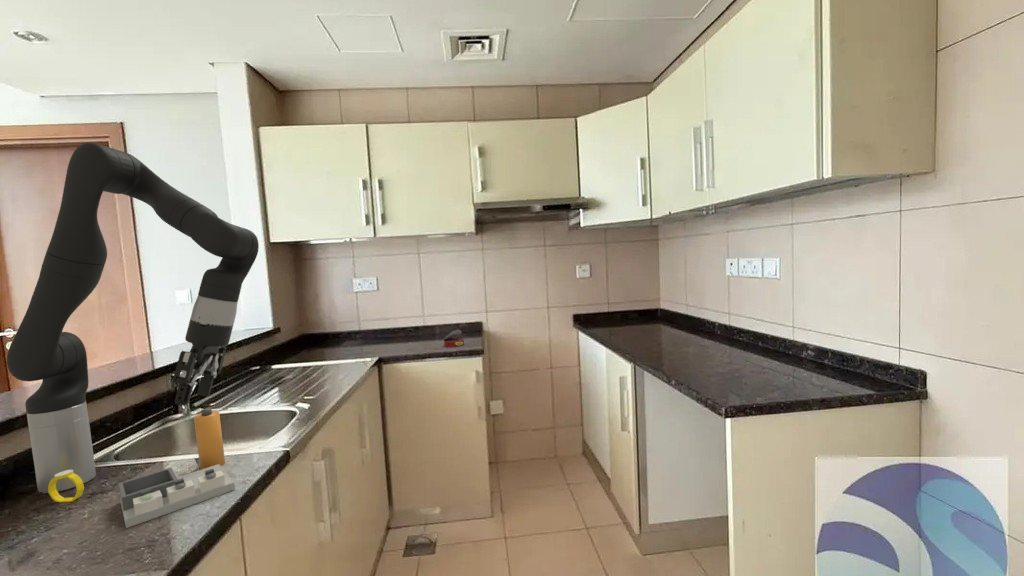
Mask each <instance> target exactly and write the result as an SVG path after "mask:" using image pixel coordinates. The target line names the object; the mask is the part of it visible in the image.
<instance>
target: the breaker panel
mask: <svg viewBox="0 0 1024 576" xmlns="http://www.w3.org/2000/svg"><path fill="white" fill-rule="evenodd" d="M118 489H119V490H118V491H119V495H118V496H119V501H120V502H119V503H120V506H121V511H122V516H123V520H124V521H123V522H124V525H125V528H126V529H128V528H131V527H134V526H137V525H139V524H141V523H145V522H147V521H151V520H154V519H156V518H159V517H162V516H164V515H167V514H170V513H174V512H177V511H178V510H182V509H184V508H187V507H190V506H193V505H196V504H198V503H200V502H201V503H202V502H204V501H207V500H210V499H212V498H216V497H218V496H220V495H223V494H227V493H229V492H231V490H232V491H234V490H233V489H235V490H236V487H235V481H234V480H233V478H231V477H230V476H229V474H228V473H227V472H226V470H225V469H224V468H223V467H222V466H220V464H217V465H214V466H211V467H208V468H205V469H202V470H200V469H198V470H196V471H193V472H190V473H187V474H186V473H185V474H182V475H179V476H176V474H175V472H174V471H173V468H172V467H168V468H165V469H162V470H158V471H156V472H155V471H154V472H152V473H148V474H145V475H142V476H138V477H135V478H132V479H128V480H125V481H122V482H119V483H118Z"/></svg>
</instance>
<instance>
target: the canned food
mask: <svg viewBox="0 0 1024 576" xmlns="http://www.w3.org/2000/svg"><path fill="white" fill-rule="evenodd" d="M462 333H463V332H462V330H460V329H455V330H453V331H451V332H449V334H447V335H446V336H445V337H444V338H443V343H444V344H443V346H444V347H445V348H458V347H462V346H464V345H465V342H464V341H465V339H464V338H463V337H459V336H460V335H461V334H462Z"/></svg>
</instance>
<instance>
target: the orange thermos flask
mask: <svg viewBox="0 0 1024 576" xmlns="http://www.w3.org/2000/svg"><path fill="white" fill-rule="evenodd" d="M220 414H221V413H220V411H218V410H212V407H207V408H203V409H201V410H200V413H199V414H195V415H194V417H193V418H194V427H195V430H194V431H195V436H196V445H197V454H198V460H199V461H198V462H199V470H202V469H205V468H208V467H211V466H214V465H217V464H220V466H221V467H222V466H223V465H224V464H226V459H225V450H224V441H223V435H222V434H223V433H222V424H221V416H220Z"/></svg>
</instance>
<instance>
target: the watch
mask: <svg viewBox="0 0 1024 576" xmlns="http://www.w3.org/2000/svg"><path fill="white" fill-rule="evenodd" d="M66 477H67V478H69V479H71V480H72V481H73V482H74V483H75V485H76V487H75V488H76V492H75V496H74V497H64V496H62V495H61V494H60V493H59V491H57V490H56V482H57V480H58V479H62V478H66ZM84 485H85V483H83V481H82V479H81V478H80V477H79V476H78V475H76V474H74V473H73V470H66V471H63V472H60V473H57V474H56V475H54V478H53V479H52V480H51V481H50V483H49V485H48V492H49V493H48V495H49V496H50V498H51V500H53V501H54V502H56V503H57V502H59V503H71V502H72V503H73V502H75V501H76V500H79V498H80V497H81V496H82V495H83V493H84V490H85V486H84Z"/></svg>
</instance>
